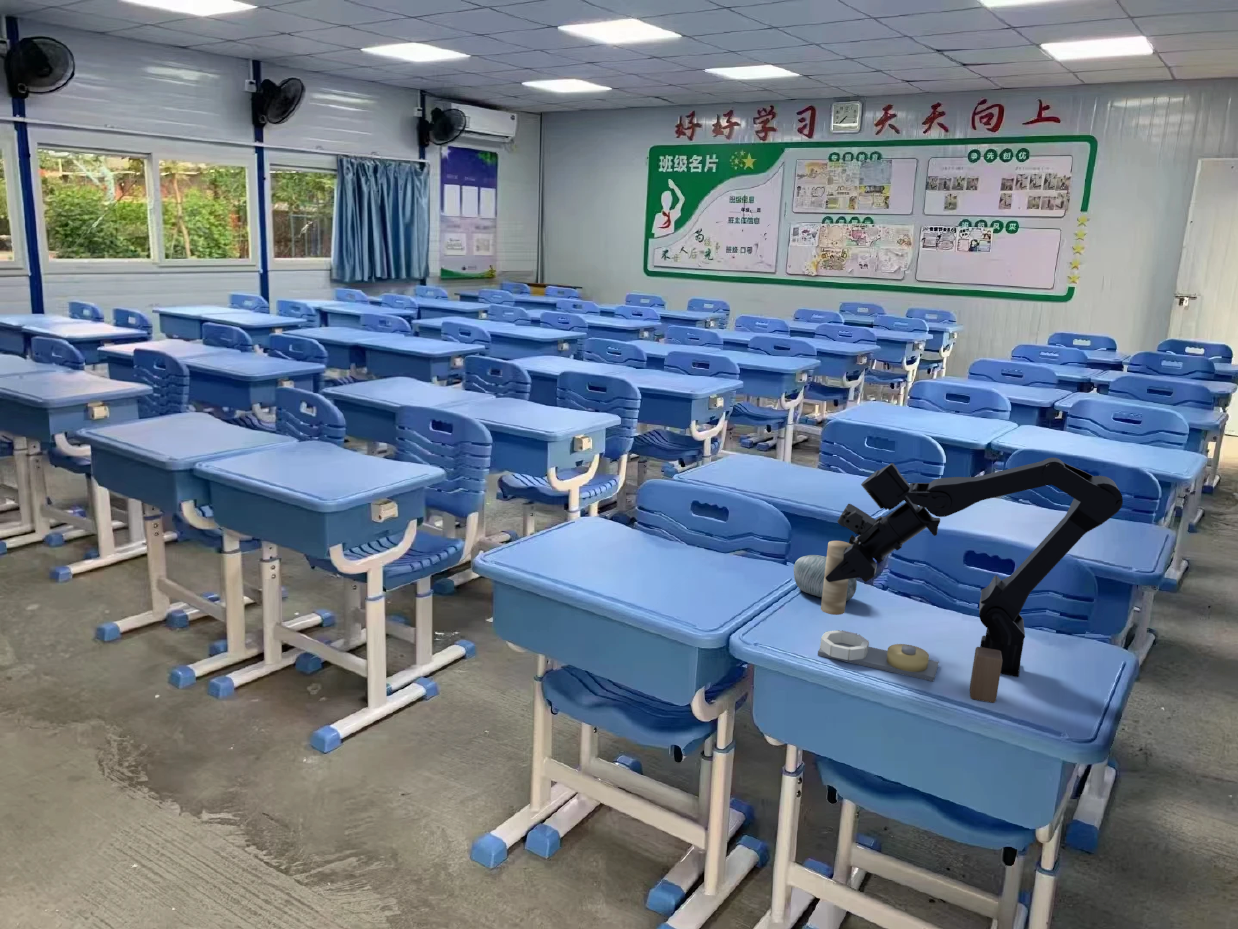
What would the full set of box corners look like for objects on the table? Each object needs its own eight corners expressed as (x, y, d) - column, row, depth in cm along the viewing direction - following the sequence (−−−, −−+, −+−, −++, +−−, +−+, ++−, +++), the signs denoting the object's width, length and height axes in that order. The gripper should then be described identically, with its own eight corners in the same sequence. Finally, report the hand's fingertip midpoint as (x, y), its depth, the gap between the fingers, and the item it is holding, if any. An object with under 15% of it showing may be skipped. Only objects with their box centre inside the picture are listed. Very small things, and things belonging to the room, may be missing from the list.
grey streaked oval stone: (871, 584, 198) (854, 546, 194) (850, 614, 193) (833, 576, 189) (817, 580, 208) (800, 544, 205) (796, 608, 203) (778, 572, 199)
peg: (846, 608, 179) (854, 543, 176) (841, 616, 175) (849, 550, 172) (823, 604, 181) (831, 539, 178) (818, 611, 177) (825, 545, 174)
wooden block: (969, 689, 160) (975, 645, 158) (994, 693, 159) (1001, 649, 157) (969, 699, 156) (976, 654, 154) (995, 704, 155) (1003, 659, 153)
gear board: (938, 666, 168) (940, 647, 167) (932, 684, 161) (935, 664, 160) (826, 641, 176) (828, 623, 175) (816, 657, 169) (818, 638, 168)
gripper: (873, 482, 180) (809, 529, 186) (862, 506, 163) (792, 556, 169) (911, 528, 179) (846, 573, 185) (904, 556, 162) (832, 605, 168)
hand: (828, 575), depth 177 cm, fingers closed on peg, 4 cm apart
